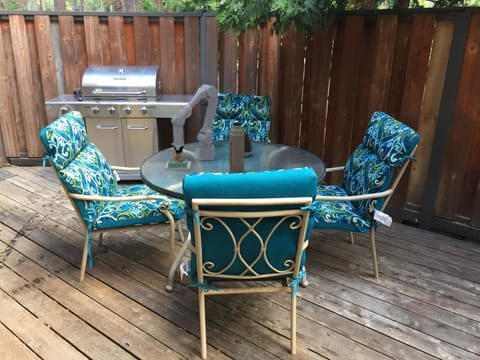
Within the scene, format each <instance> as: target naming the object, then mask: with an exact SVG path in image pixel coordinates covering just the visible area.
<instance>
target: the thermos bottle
mask: <svg viewBox="0 0 480 360" xmlns="http://www.w3.org/2000/svg"><path fill="white" fill-rule="evenodd" d="M231 127H232V128H231V129H230V132H229V174H230V173H242V172H244V173H245V157H244V133H243V132H244V128H243V127H242V122H240V121H239V122H237V121H236V122H232V126H231Z"/></svg>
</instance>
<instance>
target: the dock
mask: <svg viewBox="0 0 480 360" xmlns="http://www.w3.org/2000/svg"><path fill="white" fill-rule="evenodd" d="M191 166H192V160H188V158H187V159H184V160H183V163H175V161H174V160H172V159H169V160H167V161H166V164H165V167H164V171H190V170H191V168H192V167H191Z"/></svg>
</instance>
